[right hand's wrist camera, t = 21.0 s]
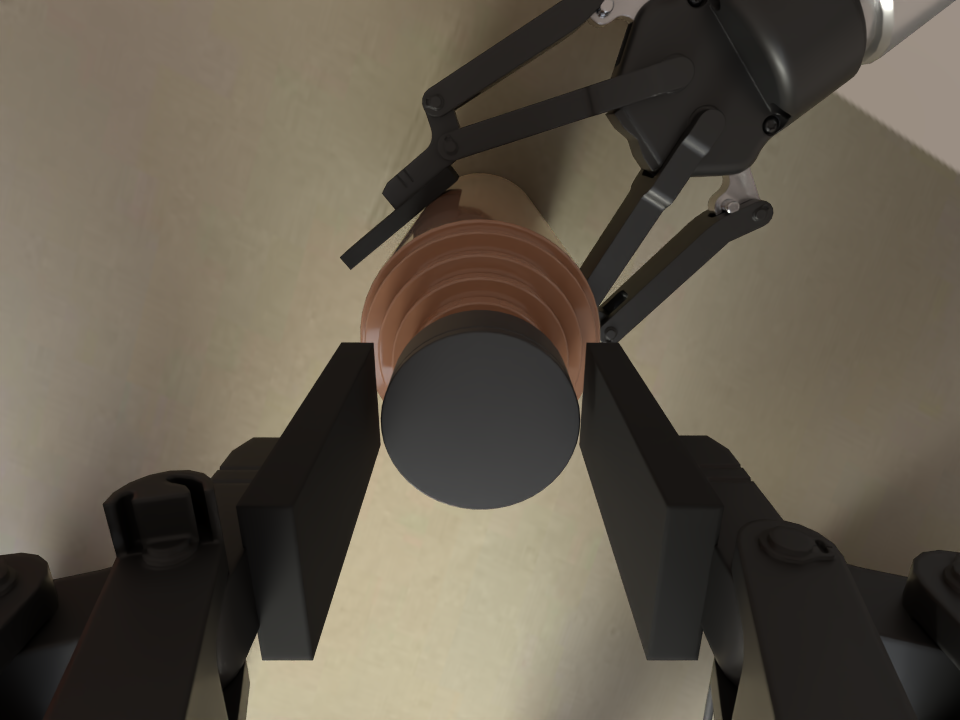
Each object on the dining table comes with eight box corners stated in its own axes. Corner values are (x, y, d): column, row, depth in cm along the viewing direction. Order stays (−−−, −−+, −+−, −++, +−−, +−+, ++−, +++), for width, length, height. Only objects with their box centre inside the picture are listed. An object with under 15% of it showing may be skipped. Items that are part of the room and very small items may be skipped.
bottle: (424, 165, 34) (322, 234, 12) (550, 181, 35) (676, 276, 12) (414, 288, 37) (314, 532, 15) (531, 302, 37) (607, 561, 15)
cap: (442, 496, 16) (437, 536, 14) (357, 356, 14) (343, 383, 13) (596, 431, 15) (610, 466, 13) (525, 277, 13) (530, 296, 12)
